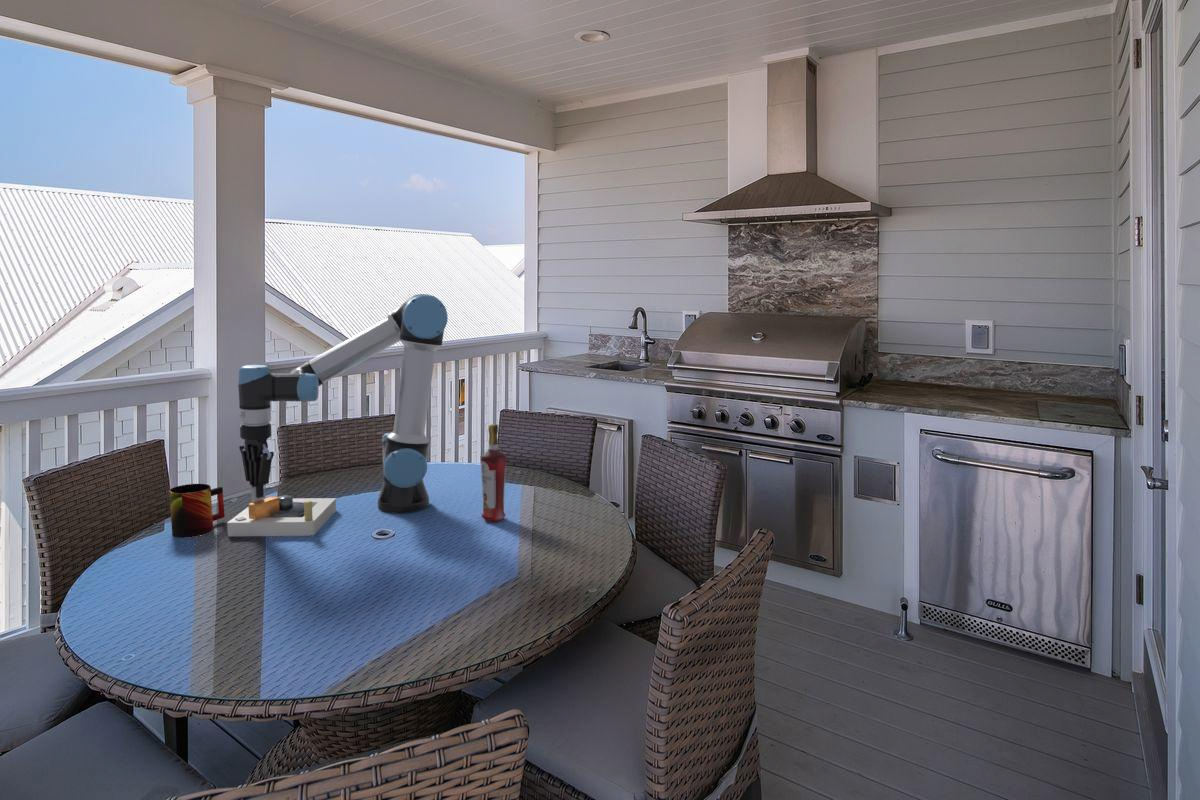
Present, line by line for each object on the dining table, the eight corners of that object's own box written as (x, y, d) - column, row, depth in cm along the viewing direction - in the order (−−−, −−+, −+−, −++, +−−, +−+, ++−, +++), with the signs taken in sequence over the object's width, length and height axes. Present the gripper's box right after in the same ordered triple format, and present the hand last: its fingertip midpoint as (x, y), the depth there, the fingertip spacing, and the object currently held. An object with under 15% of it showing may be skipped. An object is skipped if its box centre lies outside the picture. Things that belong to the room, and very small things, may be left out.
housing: (336, 510, 213) (335, 481, 212) (313, 535, 191) (312, 503, 190) (259, 511, 211) (258, 482, 210) (228, 536, 189) (226, 504, 188)
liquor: (475, 519, 207) (474, 424, 203) (495, 514, 213) (495, 421, 208) (491, 525, 202) (491, 428, 198) (511, 520, 208) (511, 425, 203)
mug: (225, 520, 202) (223, 479, 200) (204, 537, 188) (201, 493, 187) (189, 521, 201) (186, 479, 199) (165, 538, 187) (161, 493, 186)
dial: (285, 506, 209) (284, 486, 208) (317, 511, 204) (316, 491, 203) (236, 523, 193) (234, 501, 192) (269, 529, 189) (268, 507, 188)
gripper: (228, 421, 191) (232, 506, 195) (255, 429, 184) (257, 516, 188) (256, 417, 197) (258, 500, 201) (282, 425, 190) (284, 510, 194)
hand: (258, 508), depth 194 cm, fingers closed
